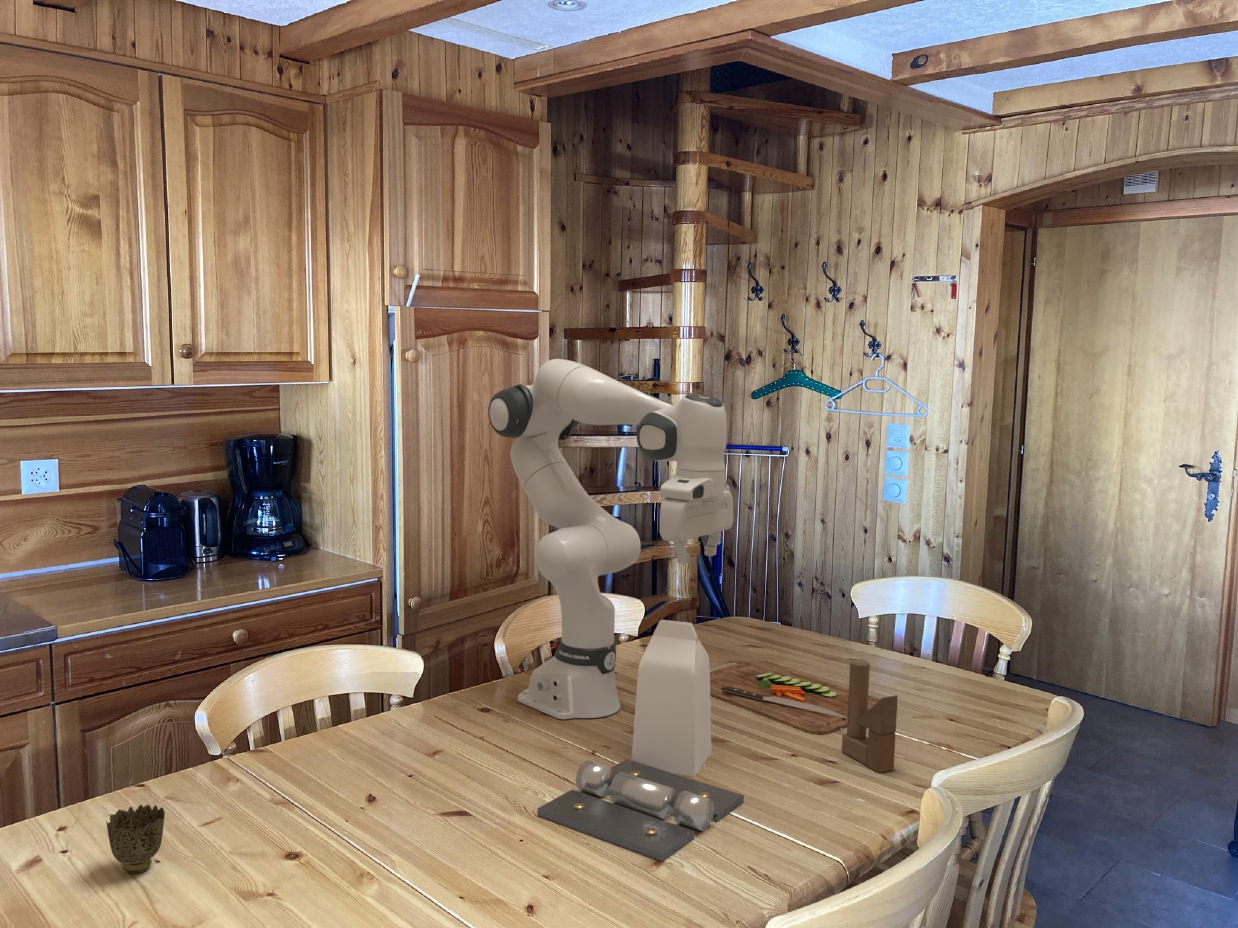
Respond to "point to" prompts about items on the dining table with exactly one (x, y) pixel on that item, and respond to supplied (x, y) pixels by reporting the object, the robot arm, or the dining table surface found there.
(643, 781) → the knuckle
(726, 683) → the chopping board
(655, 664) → the milk
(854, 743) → the wooden block
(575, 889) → the dining table surface
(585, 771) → the hinge base
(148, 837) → the cup
